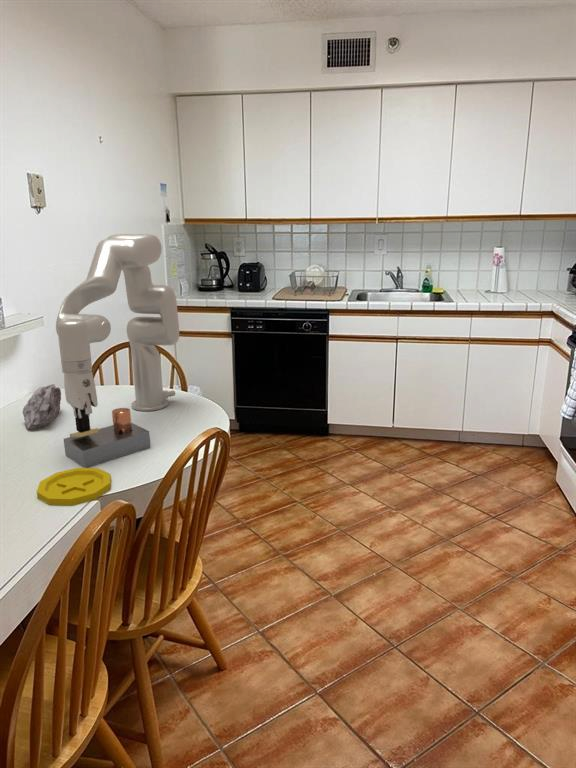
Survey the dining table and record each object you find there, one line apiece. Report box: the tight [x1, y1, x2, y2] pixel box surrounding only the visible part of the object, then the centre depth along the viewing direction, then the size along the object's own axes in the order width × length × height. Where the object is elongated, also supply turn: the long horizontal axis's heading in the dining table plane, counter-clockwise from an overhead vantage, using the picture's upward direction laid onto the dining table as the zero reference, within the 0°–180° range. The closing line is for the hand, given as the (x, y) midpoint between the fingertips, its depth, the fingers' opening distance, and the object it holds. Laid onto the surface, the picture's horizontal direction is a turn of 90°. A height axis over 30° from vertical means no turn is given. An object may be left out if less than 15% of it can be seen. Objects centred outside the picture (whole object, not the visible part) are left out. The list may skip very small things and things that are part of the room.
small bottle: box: [111, 407, 132, 434], centre depth 165 cm, size 5×5×10 cm
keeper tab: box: [69, 427, 99, 437], centre depth 158 cm, size 8×5×1 cm, turn 44°
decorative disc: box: [36, 467, 112, 506], centre depth 141 cm, size 17×18×2 cm
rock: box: [22, 383, 62, 431], centre depth 186 cm, size 22×10×15 cm, turn 9°
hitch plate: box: [63, 422, 151, 468], centre depth 162 cm, size 20×12×5 cm, turn 134°
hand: (83, 430), depth 157 cm, fingers closed
